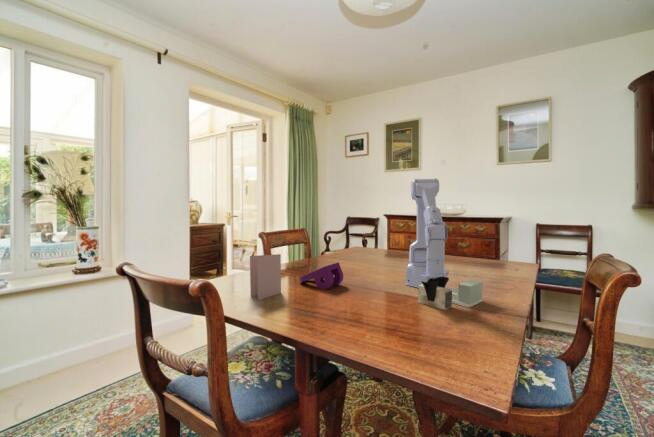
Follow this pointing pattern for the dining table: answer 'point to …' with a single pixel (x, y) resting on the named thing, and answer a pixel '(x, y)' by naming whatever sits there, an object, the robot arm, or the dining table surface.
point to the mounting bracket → (325, 276)
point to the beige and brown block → (436, 297)
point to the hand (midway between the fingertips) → (434, 299)
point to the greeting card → (265, 275)
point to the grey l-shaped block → (467, 293)
